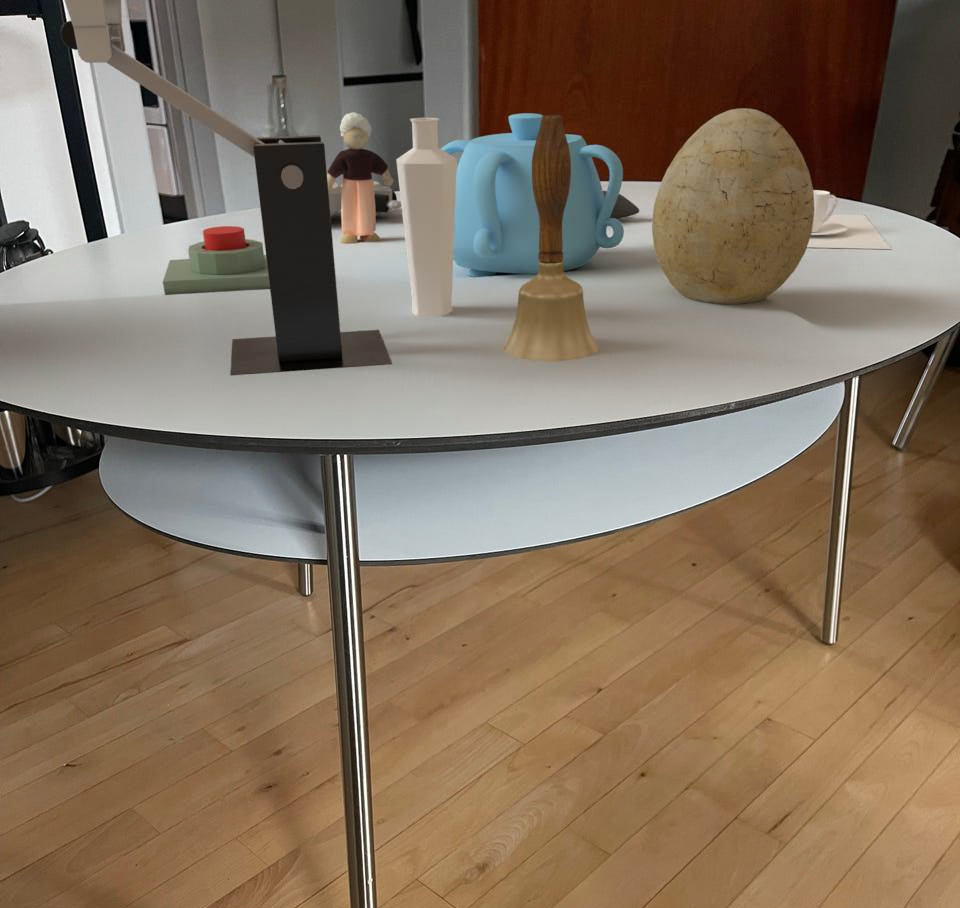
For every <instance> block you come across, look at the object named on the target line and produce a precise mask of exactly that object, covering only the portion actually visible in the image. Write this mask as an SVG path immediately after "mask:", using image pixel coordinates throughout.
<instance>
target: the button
mask: <svg viewBox="0 0 960 908" xmlns="http://www.w3.org/2000/svg"><path fill="white" fill-rule="evenodd" d="M202 235H203V242H204V243H205V250H212V251H227V250H236V249H242V248H246V240H245V239H246V234H245V228H244V227H241V226H235V225H225V226H223V225H221V226H213V227H207V228H205V229H203V230H202Z"/></svg>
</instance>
